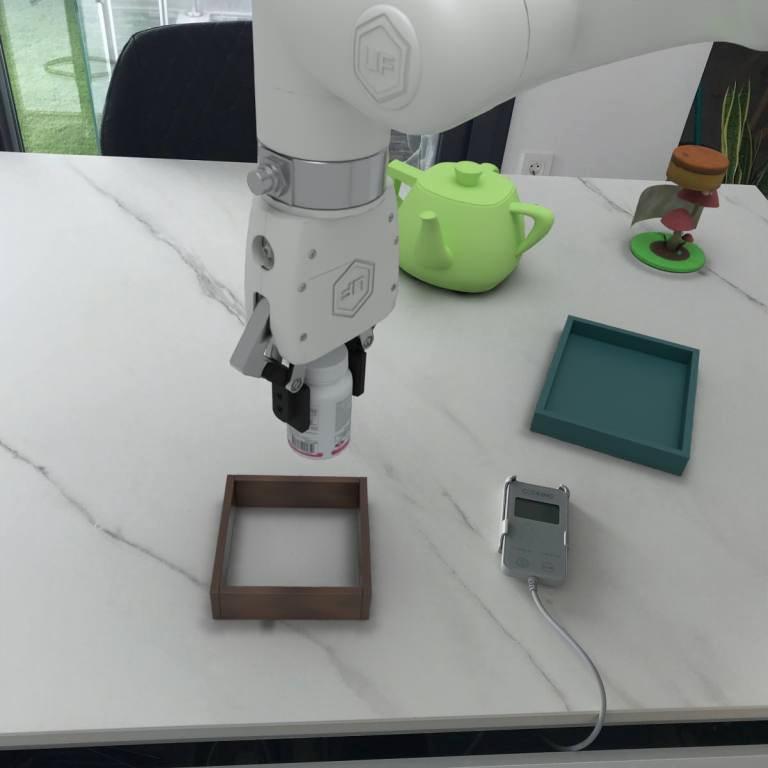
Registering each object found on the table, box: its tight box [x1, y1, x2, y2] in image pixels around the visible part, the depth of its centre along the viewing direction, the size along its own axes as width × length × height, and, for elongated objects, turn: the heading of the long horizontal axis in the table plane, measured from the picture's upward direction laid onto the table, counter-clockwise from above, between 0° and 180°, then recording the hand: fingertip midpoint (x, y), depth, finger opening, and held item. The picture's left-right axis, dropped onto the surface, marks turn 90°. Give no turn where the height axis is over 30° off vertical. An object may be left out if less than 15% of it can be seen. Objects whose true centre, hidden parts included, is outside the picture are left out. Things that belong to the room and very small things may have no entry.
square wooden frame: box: [209, 473, 373, 621], centre depth 65 cm, size 12×12×4 cm
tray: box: [529, 314, 701, 477], centre depth 86 cm, size 20×16×3 cm
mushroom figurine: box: [629, 144, 730, 273], centre depth 108 cm, size 12×13×15 cm
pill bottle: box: [286, 344, 353, 461], centre depth 56 cm, size 5×5×8 cm
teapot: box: [388, 158, 555, 293], centre depth 101 cm, size 19×20×14 cm
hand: (319, 402), depth 56 cm, fingers closed on pill bottle, 4 cm apart
